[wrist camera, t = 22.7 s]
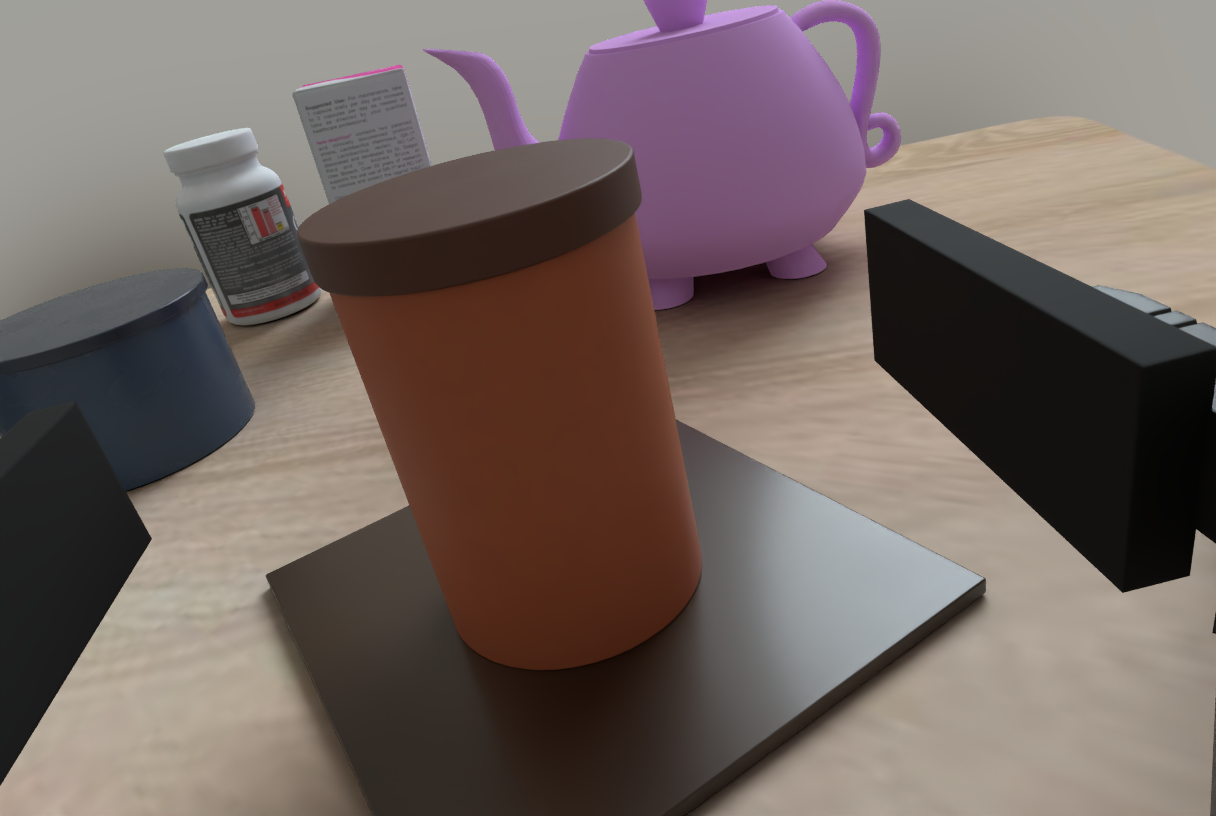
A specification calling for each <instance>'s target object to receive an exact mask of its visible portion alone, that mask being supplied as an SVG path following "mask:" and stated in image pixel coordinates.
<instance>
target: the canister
mask: <svg viewBox="0 0 1216 816" xmlns="http://www.w3.org/2000/svg"><path fill="white" fill-rule="evenodd" d="M641 201H642V192H641V187H640V182H639V176H638V171H637V166H636V161H635V155H634V151H633V149H632V148H631V147H630V145H628V144H626V143H624V142H621V141H617V140H611V139H598V138H585V139H567V140H558V141H548V142H541V143H534V144H528V145H522V146H516V147H510V148H505V149H500V150H495V151H491V152H486V153H481V154H477V155H472V156H469V157H464V158H460V159H456V160H452V161H448V162H444V163H441V164H437V165H434V166H430V167H427V168H423V169H420V170H417V171H413V172H410V173H407V174H404V175H401V176H398V177H395V178H392V179H389V180H386V181H383V182H380V183H378V184H375V185H372V186H370V187H367V188H365V189H362V190H359V191H357V192H355V193H352V194H350V195H348V196H345V197H343V198H341V199H339V200H337V201H335V202H333V203H331V204H329V205H327V206H326V207H324V208H322V209H320V210H319V211H317V212H316V213H314V214H312V215H311V216H310V217H309V218H307V219H306V220H305V221H304V222H303V223H302V224H301V225H300V226H299V228H298V230H297V239H298V242H299V244H300V247H301V249H302V252H303V255H304V257H305V260H306V262H307V265H308V268H309V270H310V273H311V275H312V278H313V281H314V282H315V283H316V284H317V285H318V286H319V288H321V289H323V290H325V291H327V292H329V293H330V295H331V298H332V301H333V303H334V306H335V309H336V311H337V314H338V317H339V319H340V322H341V325H342V327H343V330H344V333H345V335H346V338H347V341H348V343H349V346H350V348H351V351H352V354H353V356H354V359H355V362H356V364H357V367H358V370H359V372H360V375H361V378H362V380H363V383H364V386H365V388H366V391H367V394H368V396H369V399H370V402H371V404H372V407H373V410H374V412H375V415H376V417H377V420H378V423H379V425H380V428H381V431H382V433H383V436H384V439H385V441H386V444H387V447H388V449H389V452H390V455H391V457H392V460H393V463H394V465H395V468H396V471H397V473H398V476H399V479H400V481H401V484H402V487H403V489H404V492H405V494H406V497H407V500H408V502H409V505H410V508H411V510H412V513H413V516H414V518H415V521H416V524H417V526H418V529H419V532H420V534H421V537H422V540H423V542H424V545H425V548H426V550H427V553H428V556H429V558H430V561H431V563H432V566H433V569H434V571H435V574H436V577H437V579H438V582H439V585H440V587H441V590H442V593H443V595H444V598H445V601H446V603H447V606H448V609H449V611H450V614H451V617H452V619H453V622H454V625H455V627H456V630H457V631H458V633H459V635H460V636H461V638H462V639H463V640H464V641H465V643H466V644H467V645H468V646H469V647H470V648H471V649H473V650H474V651H476V652H477V653H478V654H480V655H481V656H483V657H485V658H487V659H489V660H491V661H493V662H496V663H499V664H502V665H505V666H509V667H514V668H520V669H528V670H560V669H567V668H574V667H580V666H584V665H588V664H592V663H596V662H599V661H602V660H605V659H608V658H611V657H614V656H616V655H619V654H621V653H623V652H626V651H628V650H630V649H632V648H634V647H636V646H637V645H639V644H641V643H643V642H645V641H646V640H648V639H649V638H651V637H652V636H654V635H655V634H657V633H658V632H659V631H661V630H662V629H663V628H664V627H666V626H667V625H668V624H669V623H670V622H671V621H672V620H674V618H675V617H676V616H677V615H678V614H679V613H680V612H681V611H682V610H683V608H684V607H685V606H686V604H687V603H688V601H689V600H690V598H691V597H692V595H693V593H694V591H695V589H696V587H697V585H698V582H699V578H700V575H701V569H702V554H701V548H700V542H699V537H698V532H697V527H696V522H695V517H694V512H693V507H692V501H691V496H690V491H689V486H688V481H687V476H686V471H685V465H684V460H683V455H682V450H681V445H680V440H679V435H678V429H677V424H676V419H675V414H674V409H673V404H672V399H671V393H670V388H669V383H668V378H667V373H666V368H665V363H664V357H663V352H662V347H661V342H660V337H659V332H658V327H657V321H656V316H655V311H654V306H653V301H652V296H651V291H650V285H649V280H648V275H647V270H646V265H645V260H644V255H643V249H642V244H641V239H640V234H639V229H638V224H637V219H636V214H635V212H636V211H637V209H638V208H639V206H640V204H641Z"/></svg>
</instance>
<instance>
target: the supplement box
mask: <svg viewBox="0 0 1216 816" xmlns="http://www.w3.org/2000/svg"><path fill="white" fill-rule="evenodd" d="M293 98H294V101H295V103H296V106H297V109H298V112H299V115H300V119H301V122H302V125H303V128H304V131H305V133H306V137H307V139H308V143H309V145H310V148H311V151H312V154H313V157H314V160H315V163H316V166H317V169H318V172H319V175H320V178H321V181H322V184H323V187H324V190H325V193H326V196H327V199H328V202H329V204H331V203H333V202H335V201H337V200H339V199H341V198H343V197H345V196H348V195H350V194H352V193H355V192H357V191H359V190H362V189H365V188H367V187H370V186H372V185H375V184H378V183H380V182H383V181H386V180H389V179H392V178H395V177H398V176H401V175H404V174H407V173H410V172H413V171H417V170H420V169H423V168H427V167H430V166H432V165H431V161H430V158H429V155H428V151H427V147H426V143H425V140H424V136H423V133H422V129H421V125H420V122H419V118H418V115H417V111H416V108H415V104H414V101H413V97H412V94H411V90H410V86H409V83H408V80H407V76H406V73H405V70H404V69H403V67H402V66H401V65H396V66H391V67H386V68H382V69H377V70H373V71H368V72H364V73H360V74H355V75H351V76H346V77H342V78H337V79H332V80H328V81H322V82H318V83H313V84H308V85H304V86H302V87H300V88H298V89H297V90H296V91H294V92H293Z"/></svg>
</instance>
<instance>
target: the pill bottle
mask: <svg viewBox="0 0 1216 816" xmlns="http://www.w3.org/2000/svg"><path fill="white" fill-rule="evenodd" d="M258 148H259V147H258V145H257V143H256V141H255V138H254V136H253V133H252V131H251V129H250V128H241V129H235V130H230V131H225V132H221V133H217V134H213V135H209V136H205V137H202V138H198V139H195V140H191V141H188V142H185V143H182V144H179V145H176V146H174V147H171V148H169V149H167V150H165V151H164V152H163V153H164V156H165V158H166V161H167V163H168V165H169V168H170V170H171V172H172V173H174V174H175V175H176V176H178V177H179V178H180V180H181V183H182V190H181V191H180V192H179V194H178V196H177V199H176V206H177V209H178V212H179V215H180V217H181V219H182V222H183V224H184V226H185V229H186V231H187V233H188V235H189V237H190V240H191V242H192V244H193V246H194V249H195V251H196V253H197V256H198V258H199V260H200V262H201V264H202V267H203V269H204V271H205V273H206V275H207V278H208V280H209V282H210V285H211V287H212V290H213V292H214V294H215V296H216V298H217V300H218V303H219V305H220V307H221V309H222V312H223V314H224V315H225V317H226V319H227V320H228V321H229V322H231V323H233V324H236V325H254V324H260V323H265V322H269V321H272V320H276V319H279V318H282V317H285V316H288V315H290V314H293V313H295V312H297V311H299V310H301V309H303V308H305V307H307V306H309V305H310V304H312V303H313V302H314V301H316V300H317V299H318V297H319V296H320V294H321V291H322V289H321V288H319V286H318V285H317V284H316V283H315V282H314V281H313V278H312V275H311V273H310V270H309V268H308V265H307V262H306V260H305V257H304V255H303V252H302V249H301V247H300V244H299V242H298V239H297V230H298V228H299V227H298V224H297V221H296V219H295V216H294V214H293V211H292V208H291V206H290V203H289V201H288V198H287V195H286V193H285V190H284V188H283V185H282V183H281V181H280V179H279V177H278V175H277V174H276V173H275V172H274V171H272V170H271V169H269V168H266V167H263V166H261V165H260V164H259V162H258V159H257V157H256V154H257V151H258Z"/></svg>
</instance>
